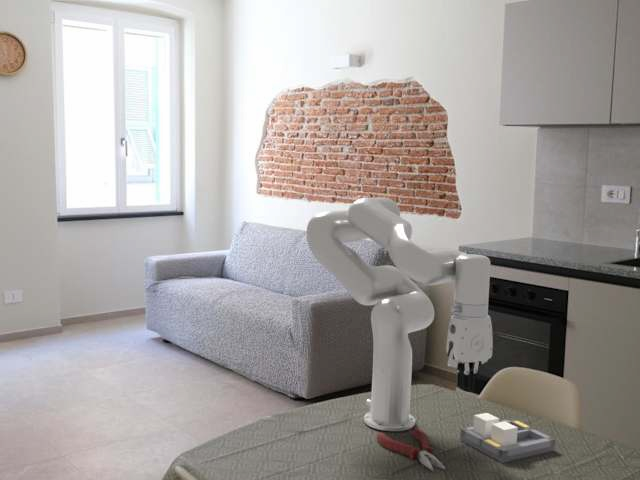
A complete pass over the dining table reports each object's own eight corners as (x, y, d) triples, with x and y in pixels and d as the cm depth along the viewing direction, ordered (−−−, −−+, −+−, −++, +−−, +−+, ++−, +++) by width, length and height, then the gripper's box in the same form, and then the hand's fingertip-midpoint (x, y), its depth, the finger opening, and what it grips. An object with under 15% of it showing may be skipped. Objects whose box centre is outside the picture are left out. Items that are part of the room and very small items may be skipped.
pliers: (415, 478, 154) (415, 466, 154) (374, 441, 173) (374, 430, 172) (462, 472, 158) (463, 460, 158) (417, 436, 177) (418, 426, 176)
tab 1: (472, 435, 173) (474, 415, 173) (485, 433, 175) (487, 412, 175) (484, 442, 170) (485, 421, 169) (497, 439, 172) (499, 418, 171)
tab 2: (490, 445, 168) (491, 424, 168) (503, 442, 170) (505, 421, 170) (502, 451, 165) (504, 430, 164) (516, 448, 167) (517, 427, 166)
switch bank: (460, 439, 174) (460, 428, 174) (510, 429, 182) (511, 418, 182) (502, 462, 162) (502, 450, 162) (554, 450, 170) (555, 438, 170)
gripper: (455, 316, 158) (451, 399, 161) (507, 310, 166) (502, 390, 168) (433, 309, 165) (429, 389, 167) (484, 304, 172) (480, 381, 174)
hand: (466, 389), depth 167 cm, fingers closed
